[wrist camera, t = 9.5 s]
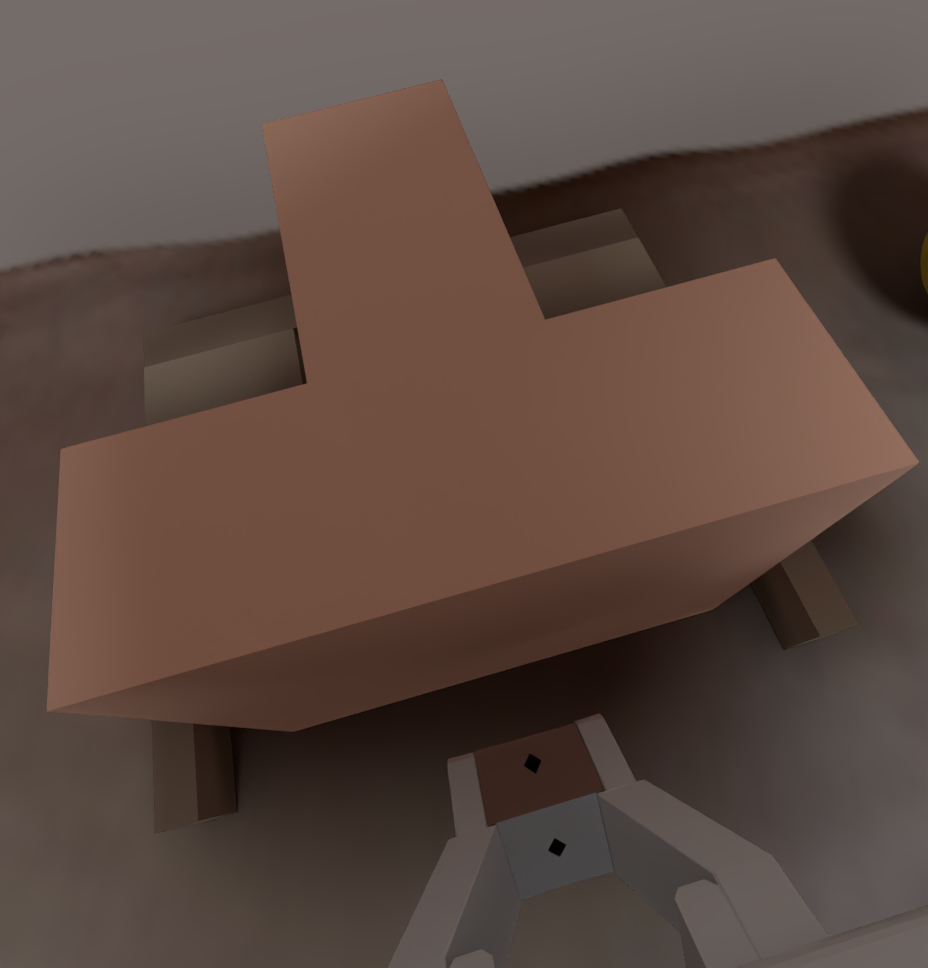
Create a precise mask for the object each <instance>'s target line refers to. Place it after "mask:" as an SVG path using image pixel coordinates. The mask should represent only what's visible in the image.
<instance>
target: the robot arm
mask: <svg viewBox="0 0 928 968" xmlns="http://www.w3.org/2000/svg"><path fill="white" fill-rule="evenodd" d="M447 769H448V777H449V785H450V793H451V801H452V809H453V816H454V824H455V832H456V837H454V838H451V839H448V841H447V843H446V845H445V847H444V849H443V852H442V854H441V856H440V858H439V860H438V862H437V864H436V866H435V868H434V871H433V873H432V875H431V877H430V879H429V881H428V883H427V885H426V888H425V890H424V892H423V894H422V896H421V898H420V900H419V902H418V905H417V907H416V909H415V911H414V913H413V915H412V917H411V919H410V921H409V924H408V926H407V928H406V930H405V932H404V934H403V936H402V938H401V941H400V943H399V945H398V947H397V949H396V951H395V953H394V955H393V957H392V960H391V962H390V964H389V966H388V968H505V967H506V963H507V959H508V955H509V951H510V947H511V943H512V939H513V935H514V931H515V928H516V924H517V920H518V916H519V912H520V908H521V902H520V901H522V900H525V899H527V898H530V897H533V896H536V895H539V894H542V893H545V892H548V891H550V890H553V889H556V888H559V887H562V886H565V885H568V884H572V883H575V882H579V881H582V880H586V879H589V878H593V877H597V876H600V875H604V874H607V873H611V872H615V874H616V875H617V876H618V877H619V878H620V879H621V880H622V881H624V882H625V883H626V884H627V885H628V886H629V887H630V888H631V889H632V890H634V891H635V892H636V893H637V894H638V895H639V896H640V897H641V898H642V899H644V900H645V901H646V902H647V903H648V904H649V905H650V906H651V907H652V908H653V909H655V910H656V911H657V912H658V913H659V914H660V915H661V916H662V917H663V918H665V919H666V920H667V921H668V922H669V923H670V924H671V925H672V926H673V927H675V928H676V929H677V930H678V931H679V932H680V933H681V939H682V945H683V950H684V956H685V962H686V968H928V905H927V906H924V907H921V908H917V909H914V910H911V911H908V912H905V913H902V914H899V915H896V916H893V917H890V918H886V919H883V920H880V921H877V922H874V923H871V924H868V925H865V926H862V927H859V928H855V929H852V930H849V931H846V932H843V933H840V934H837V935H834V936H831V937H828V936H827V934H826V933H825V931H824V930H823V928H822V927H821V925H820V924H819V923H818V921H817V920H816V918H815V917H814V915H813V914H812V912H811V911H810V909H809V908H808V907H807V905H806V904H805V902H804V901H803V899H802V898H801V896H800V895H799V893H798V892H797V891H796V889H795V888H794V886H793V885H792V883H791V882H790V880H789V879H788V877H787V876H786V875H785V873H784V872H783V870H782V869H781V867H780V866H779V864H778V863H777V861H776V860H775V859H774V857H773V856H772V855H771V854H769V853H767V852H766V851H764V850H762V849H761V848H759V847H757V846H756V845H754V844H752V843H751V842H749V841H747V840H745V839H744V838H742V837H740V836H739V835H737V834H735V833H734V832H732V831H730V830H729V829H727V828H725V827H724V826H722V825H720V824H719V823H717V822H715V821H714V820H712V819H710V818H709V817H707V816H705V815H703V814H702V813H700V812H698V811H697V810H695V809H693V808H692V807H690V806H688V805H687V804H685V803H683V802H682V801H680V800H678V799H677V798H675V797H673V796H672V795H670V794H668V793H667V792H665V791H663V790H661V789H660V788H658V787H656V786H655V785H653V784H651V783H650V782H648V781H646V780H645V779H644V780H640V781H637V782H636V780H635V778H634V776H633V774H632V772H631V770H630V768H629V766H628V764H627V762H626V760H625V758H624V756H623V754H622V752H621V750H620V749H619V747H618V745H617V743H616V741H615V739H614V737H613V735H612V733H611V731H610V729H609V727H608V725H607V723H606V721H605V719H604V718H603V716H602V715H600V714H596V715H593V716H590V717H586V718H583V719H580V720H577V721H575V722H571V723H568V724H565V725H561V726H558V727H555V728H552V729H549V730H545V731H542V732H539V733H536V734H533V735H529V736H526V737H524V738H520V739H517V740H513V741H509V742H506V743H502V744H499V745H495V746H491V747H488V748H484V749H480V750H477V751H474V752H472V753H468V754H464V755H461V756H457V757H453V758H449V759H448V763H447Z"/></svg>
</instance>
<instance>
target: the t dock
mask: <svg viewBox="0 0 928 968" xmlns="http://www.w3.org/2000/svg"><path fill="white" fill-rule="evenodd" d="M510 239H511V241H512V244H513V246H514V248H515V251H516V253H517V255H518V258H519V260H520V262H521V265H522V267H523V269H524V272H525V274H526V276H527V279H528V281H529V283H530V286H531V288H532V290H533V293H534V295H535V297H536V300H537V302H538V304H539V307H540V309H541V311H542V314H543V316H544V318H545V320H546V319H550V318H554V317H557V316H561V315H565V314H569V313H572V312H576V311H580V310H584V309H587V308H591V307H595V306H599V305H602V304H606V303H610V302H614V301H617V300H621V299H625V298H629V297H632V296H636V295H640V294H644V293H647V292H651V291H655V290H659V289H662V288H666V285H665V283H664V281H663V280H662V278H661V276H660V274H659V273H658V271H657V269H656V267H655V266H654V264H653V262H652V260H651V259H650V257H649V255H648V253H647V252H646V250H645V248H644V246H643V245H642V243H641V241H640V239H639V238H638V236H637V234H636V233H635V231H634V229H633V227H632V226H631V224H630V222H629V220H628V219H627V217H626V215H625V213H624V212H623V210H622V208H620V209H616V210H613V211H609V212H605V213H601V214H597V215H593V216H590V217H586V218H582V219H578V220H574V221H570V222H567V223H563V224H559V225H555V226H551V227H547V228H544V229H540V230H536V231H532V232H528V233H524V234H521V235H517V236H513V237H510ZM143 346H144V389H145V426H149V425H153V424H157V423H160V422H164V421H168V420H172V419H175V418H179V417H183V416H187V415H190V414H194V413H198V412H202V411H205V410H209V409H213V408H217V407H220V406H224V405H228V404H232V403H235V402H239V401H243V400H247V399H250V398H254V397H258V396H262V395H265V394H269V393H273V392H277V391H280V390H284V389H288V388H292V387H295V386H299V385H303V384H306V383H307V380H306V374H305V368H304V363H303V357H302V351H301V346H300V340H299V334H298V329H297V323H296V317H295V312H294V306H293V300H292V295H287V296H283V297H279V298H276V299H272V300H268V301H264V302H260V303H256V304H253V305H249V306H245V307H241V308H237V309H233V310H230V311H226V312H222V313H218V314H214V315H210V316H207V317H203V318H199V319H195V320H191V321H188V322H184V323H180V324H176V325H172V326H168V327H165V328H161V329H157V330H153V331H149V332H145V333H143ZM751 585H752V587H753V589H754V591H755V593H756V595H757V597H758V599H759V601H760V603H761V605H762V607H763V609H764V611H765V613H766V615H767V617H768V619H769V621H770V623H771V625H772V627H773V629H774V631H775V633H776V635H777V637H778V639H779V641H780V643H781V645H782V647H783V649H784V650H785V649H788V648H792V647H795V646H798V645H802V644H805V643H809V642H812V641H815V640H819V639H822V638H824V637H827V636H830V635H832V634H835V633H838V632H841V631H843V630H846V629H849V628H852V627H854V626H857V625H860V624H859V622H858V621H857V619H856V617H855V615H854V614H853V612H852V610H851V608H850V607H849V605H848V603H847V601H846V600H845V598H844V596H843V594H842V593H841V591H840V589H839V587H838V586H837V584H836V582H835V580H834V579H833V577H832V575H831V573H830V572H829V570H828V568H827V566H826V565H825V563H824V561H823V559H822V558H821V556H820V554H819V552H818V551H817V549H816V547H815V545H814V544H813V542H812V540H810V541H809V542H807V543H806V544H805V545H803V546H802V547H800V548H799V549H798V550H796V551H795V552H793V553H792V554H790V555H789V556H788V557H786V558H785V559H783V560H782V561H781V562H779V563H778V564H776V565H775V566H774V567H772V568H771V569H769V570H768V571H767V572H765V573H764V574H762V575H761V576H760V577H758V578H757V579H755V580H754V581H752V582H751ZM152 740H153V784H154V827H155V833H160V832H164V831H168V830H173V829H177V828H181V827H186V826H190V825H194V824H199V823H202V822H205V821H209V820H212V819H216V818H219V817H222V816H226V815H229V814H232V813H236V812H237V805H236V792H235V779H234V767H233V754H232V741H231V729H230V727H229V726H217V725H205V724H193V723H181V722H169V721H157V720H152Z"/></svg>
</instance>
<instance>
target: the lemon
mask: <svg viewBox="0 0 928 968" xmlns="http://www.w3.org/2000/svg"><path fill="white" fill-rule="evenodd" d="M921 277H922V282H923V285H924V287H925V290H926V292H927V295H928V231H927V234H926V237H925V239H924V242H923V246H922V250H921Z"/></svg>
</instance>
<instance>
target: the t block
mask: <svg viewBox="0 0 928 968" xmlns="http://www.w3.org/2000/svg"><path fill="white" fill-rule="evenodd" d="M262 130H263V136H264V141H265V147H266V153H267V158H268V164H269V169H270V175H271V181H272V187H273V193H274V198H275V204H276V210H277V215H278V221H279V227H280V232H281V238H282V244H283V249H284V255H285V261H286V266H287V272H288V278H289V283H290V289H291V295H292V300H293V306H294V312H295V317H296V323H297V329H298V334H299V340H300V346H301V351H302V357H303V363H304V368H305V374H306V380H307V383H306V384H303V385H299V386H295V387H292V388H288V389H284V390H280V391H277V392H273V393H269V394H265V395H262V396H258V397H254V398H250V399H247V400H243V401H239V402H235V403H232V404H228V405H224V406H220V407H217V408H213V409H209V410H205V411H202V412H198V413H194V414H190V415H187V416H183V417H179V418H175V419H172V420H168V421H164V422H160V423H157V424H153V425H149V426H145V427H142V428H138V429H134V430H130V431H127V432H123V433H119V434H115V435H112V436H108V437H104V438H101V439H97V440H93V441H89V442H86V443H82V444H78V445H74V446H71V447H67V448H63V449H61V457H60V476H59V494H58V512H57V531H56V549H55V567H54V586H53V604H52V623H51V641H50V659H49V678H48V696H47V711H49V712H61V713H73V714H85V715H97V716H109V717H121V718H133V719H145V720H157V721H169V722H181V723H193V724H205V725H217V726H229V727H241V728H253V729H265V730H277V731H289V732H295V731H298V730H302V729H305V728H308V727H312V726H315V725H319V724H322V723H326V722H329V721H332V720H336V719H339V718H343V717H346V716H350V715H353V714H357V713H360V712H363V711H367V710H370V709H374V708H377V707H381V706H384V705H387V704H391V703H394V702H398V701H401V700H405V699H408V698H411V697H415V696H418V695H422V694H425V693H429V692H432V691H436V690H439V689H442V688H446V687H449V686H453V685H456V684H460V683H463V682H466V681H470V680H473V679H477V678H480V677H484V676H487V675H490V674H494V673H497V672H501V671H504V670H508V669H511V668H515V667H518V666H521V665H525V664H528V663H532V662H535V661H539V660H542V659H545V658H549V657H552V656H556V655H559V654H563V653H566V652H570V651H573V650H576V649H580V648H583V647H587V646H590V645H594V644H597V643H600V642H604V641H607V640H611V639H614V638H618V637H621V636H624V635H628V634H631V633H635V632H638V631H642V630H645V629H649V628H652V627H655V626H659V625H662V624H666V623H669V622H673V621H676V620H679V619H683V618H686V617H690V616H693V615H697V614H700V613H703V612H707V611H710V610H713V609H714V608H716V607H717V606H719V605H720V604H722V603H723V602H724V601H726V600H727V599H729V598H730V597H731V596H733V595H734V594H736V593H737V592H738V591H740V590H741V589H743V588H744V587H745V586H747V585H748V584H750V583H751V582H752V581H754V580H755V579H757V578H758V577H760V576H761V575H762V574H764V573H765V572H767V571H768V570H769V569H771V568H772V567H774V566H775V565H776V564H778V563H779V562H781V561H782V560H783V559H785V558H786V557H788V556H789V555H790V554H792V553H793V552H795V551H796V550H798V549H799V548H800V547H802V546H803V545H805V544H806V543H807V542H809V541H810V540H812V539H813V538H814V537H816V536H817V535H819V534H820V533H821V532H823V531H824V530H826V529H827V528H828V527H830V526H831V525H833V524H834V523H836V522H837V521H838V520H840V519H841V518H843V517H844V516H845V515H847V514H848V513H850V512H851V511H852V510H854V509H855V508H857V507H858V506H859V505H861V504H862V503H864V502H865V501H866V500H868V499H869V498H871V497H872V496H874V495H875V494H876V493H878V492H879V491H881V490H882V489H883V488H885V487H886V486H888V485H889V484H890V483H892V482H893V481H895V480H896V479H897V478H899V477H900V476H902V475H903V474H904V473H906V472H907V471H909V470H910V469H912V468H913V467H914V466H916V465H917V464H919V461H918V460H917V458H916V457H915V456H914V454H913V453H912V451H911V450H910V449H909V447H908V446H907V444H906V443H905V441H904V440H903V439H902V437H901V436H900V434H899V433H898V432H897V430H896V429H895V427H894V426H893V424H892V423H891V422H890V420H889V419H888V417H887V416H886V414H885V413H884V412H883V410H882V409H881V407H880V406H879V405H878V403H877V402H876V400H875V399H874V397H873V396H872V395H871V393H870V392H869V390H868V389H867V388H866V386H865V385H864V383H863V382H862V380H861V379H860V378H859V376H858V375H857V373H856V372H855V371H854V369H853V368H852V366H851V365H850V363H849V362H848V361H847V359H846V358H845V356H844V355H843V354H842V352H841V351H840V349H839V348H838V346H837V345H836V344H835V342H834V341H833V339H832V338H831V337H830V335H829V334H828V332H827V331H826V329H825V328H824V327H823V325H822V324H821V322H820V321H819V319H818V318H817V317H816V315H815V314H814V312H813V311H812V310H811V308H810V307H809V305H808V304H807V302H806V301H805V300H804V298H803V297H802V295H801V294H800V293H799V291H798V290H797V288H796V287H795V285H794V284H793V283H792V281H791V280H790V278H789V277H788V276H787V274H786V273H785V271H784V270H783V268H782V267H781V266H780V264H779V263H778V261H777V260H776V259H771V260H767V261H763V262H760V263H756V264H752V265H748V266H745V267H741V268H737V269H733V270H730V271H726V272H722V273H718V274H715V275H711V276H707V277H703V278H700V279H696V280H692V281H689V282H685V283H681V284H677V285H674V286H670V287H666V288H662V289H659V290H655V291H651V292H647V293H644V294H640V295H636V296H632V297H629V298H625V299H621V300H617V301H614V302H610V303H606V304H602V305H599V306H595V307H591V308H587V309H584V310H580V311H576V312H572V313H569V314H565V315H561V316H557V317H554V318H550V319H546V320H545V318H544V316H543V314H542V311H541V309H540V307H539V304H538V302H537V300H536V297H535V295H534V293H533V290H532V288H531V286H530V283H529V281H528V279H527V276H526V274H525V272H524V269H523V267H522V265H521V262H520V260H519V258H518V255H517V253H516V251H515V248H514V246H513V244H512V241H511V239H510V237H509V234H508V232H507V230H506V227H505V225H504V223H503V220H502V218H501V216H500V213H499V211H498V209H497V206H496V204H495V202H494V199H493V197H492V195H491V192H490V190H489V188H488V185H487V183H486V181H485V179H484V176H483V174H482V171H481V169H480V167H479V164H478V162H477V160H476V157H475V155H474V153H473V150H472V148H471V146H470V143H469V141H468V139H467V136H466V134H465V132H464V129H463V127H462V125H461V122H460V120H459V118H458V115H457V113H456V111H455V108H454V106H453V104H452V101H451V99H450V97H449V94H448V92H447V90H446V87H445V85H444V83H443V80H442V79H441V80H437V81H433V82H429V83H425V84H421V85H417V86H413V87H409V88H405V89H401V90H397V91H393V92H389V93H385V94H381V95H377V96H373V97H369V98H365V99H361V100H357V101H353V102H349V103H345V104H341V105H337V106H333V107H329V108H325V109H321V110H316V111H312V112H308V113H305V114H300V115H297V116H292V117H288V118H284V119H280V120H277V121H273V122H268V123H264V124H262Z"/></svg>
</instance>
